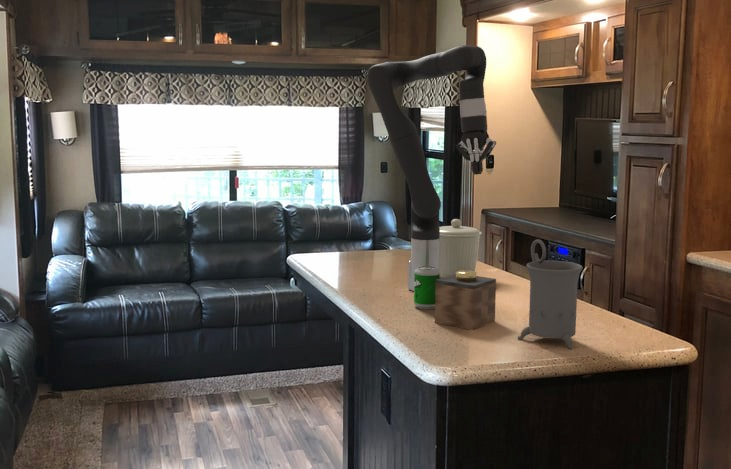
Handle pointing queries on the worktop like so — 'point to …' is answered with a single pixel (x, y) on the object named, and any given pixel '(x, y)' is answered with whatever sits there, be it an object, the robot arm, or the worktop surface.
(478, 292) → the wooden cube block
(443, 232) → the canister
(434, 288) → the soda can
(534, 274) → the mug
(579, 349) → the worktop surface
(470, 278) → the brass round peg
